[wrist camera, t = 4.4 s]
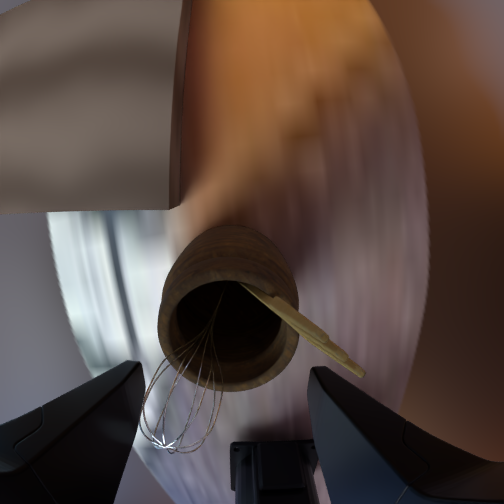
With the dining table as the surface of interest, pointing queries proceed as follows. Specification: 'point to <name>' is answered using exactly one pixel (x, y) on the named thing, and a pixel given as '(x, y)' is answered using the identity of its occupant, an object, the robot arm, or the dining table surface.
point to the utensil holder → (232, 318)
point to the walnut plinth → (92, 104)
